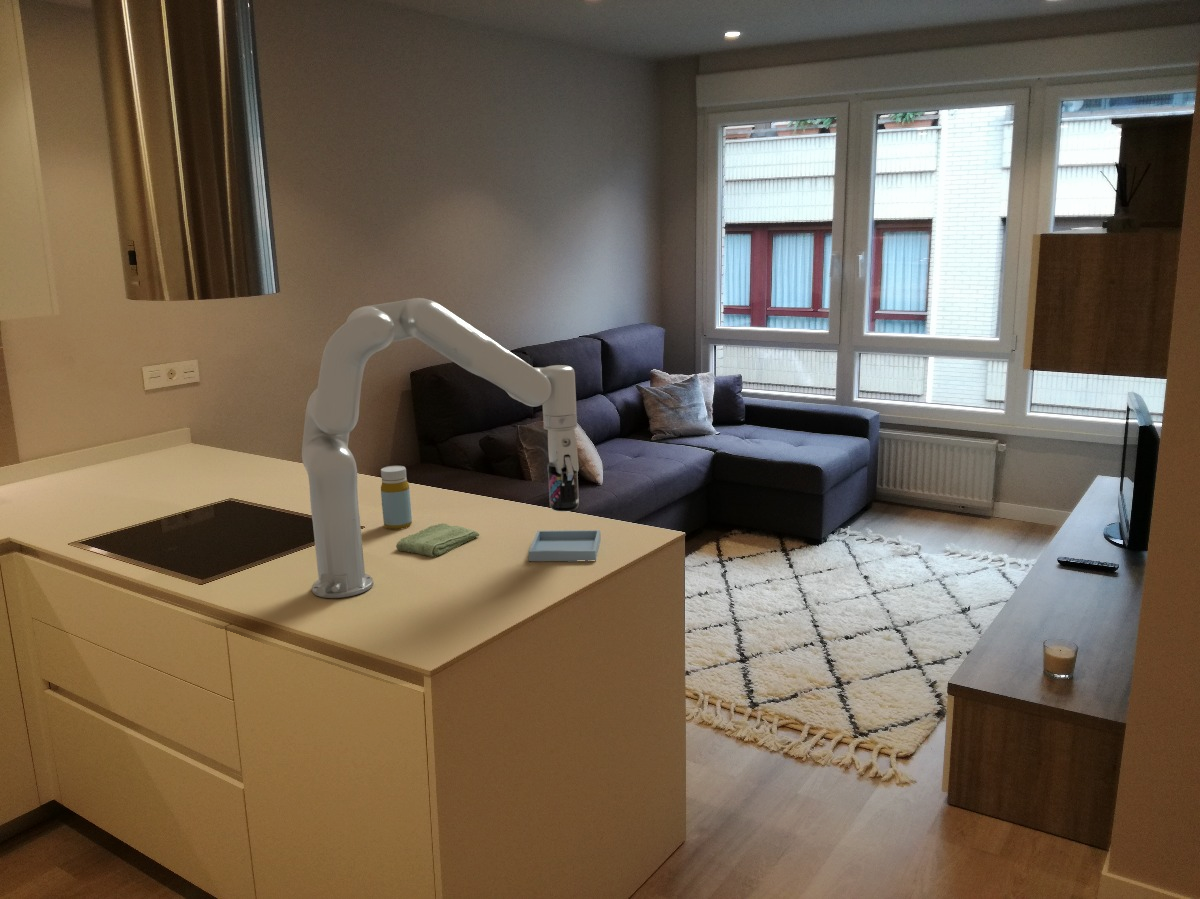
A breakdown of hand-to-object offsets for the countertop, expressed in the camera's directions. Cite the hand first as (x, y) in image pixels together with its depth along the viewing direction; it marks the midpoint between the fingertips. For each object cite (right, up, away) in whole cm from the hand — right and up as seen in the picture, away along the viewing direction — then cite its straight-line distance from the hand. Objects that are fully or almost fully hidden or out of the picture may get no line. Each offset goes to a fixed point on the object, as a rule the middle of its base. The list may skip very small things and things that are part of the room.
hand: (563, 497), depth 225 cm
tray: (0, -12, +3) cm, 13 cm away
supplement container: (0, -3, +1) cm, 3 cm away
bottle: (-43, -9, +26) cm, 51 cm away
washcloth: (-30, -12, +11) cm, 35 cm away
